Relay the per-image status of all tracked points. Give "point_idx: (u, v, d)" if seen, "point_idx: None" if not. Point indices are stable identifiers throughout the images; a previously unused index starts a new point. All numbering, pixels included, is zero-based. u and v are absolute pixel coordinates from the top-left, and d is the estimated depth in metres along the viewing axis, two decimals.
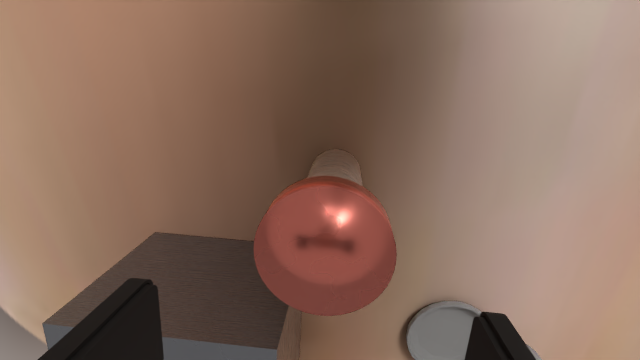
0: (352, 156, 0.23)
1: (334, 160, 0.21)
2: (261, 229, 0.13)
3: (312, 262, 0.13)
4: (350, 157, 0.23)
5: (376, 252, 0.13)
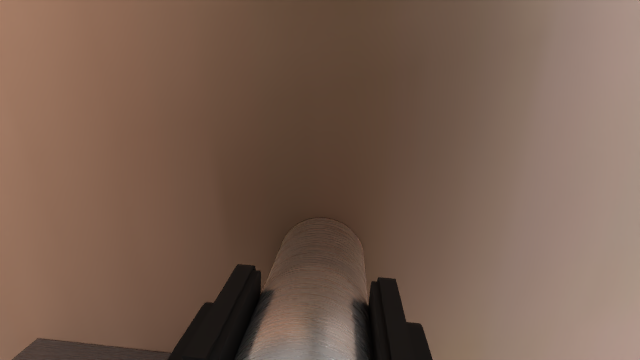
0: (349, 231, 0.14)
1: (315, 256, 0.11)
2: None
3: None
4: (345, 237, 0.13)
5: None
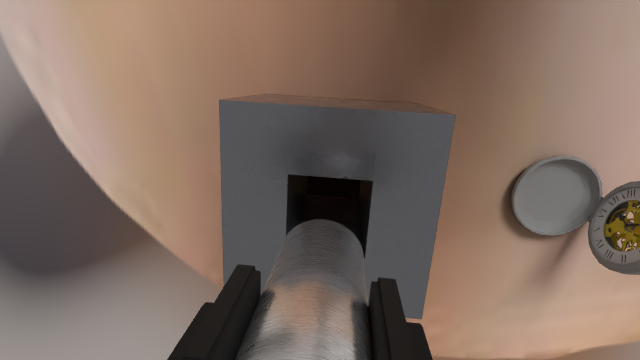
0: (349, 233, 0.14)
1: (315, 259, 0.11)
2: None
3: None
4: (345, 239, 0.13)
5: None
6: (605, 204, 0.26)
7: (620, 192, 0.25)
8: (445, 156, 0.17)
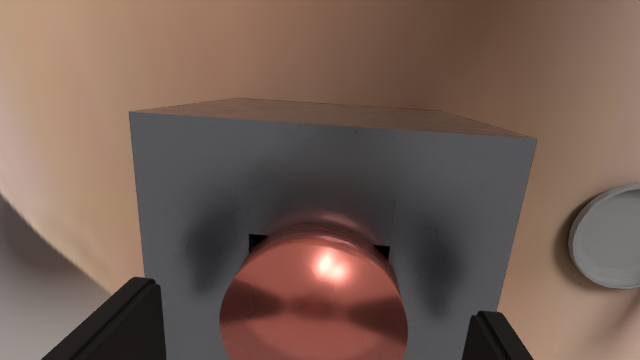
0: None
1: None
2: (229, 298, 0.10)
3: (297, 340, 0.10)
4: None
5: (381, 329, 0.10)
6: None
7: None
8: (515, 208, 0.10)
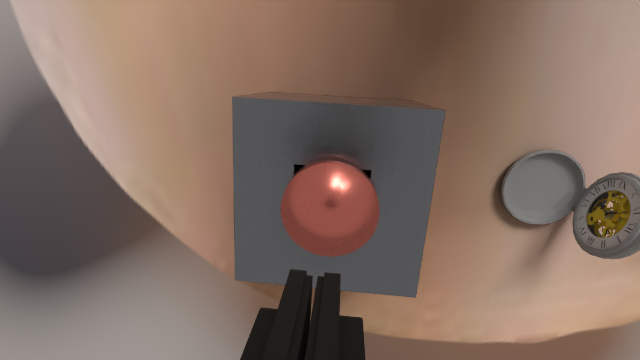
0: None
1: None
2: (286, 193, 0.19)
3: (321, 217, 0.19)
4: None
5: (365, 209, 0.19)
6: (588, 195, 0.28)
7: (601, 183, 0.27)
8: (436, 147, 0.19)
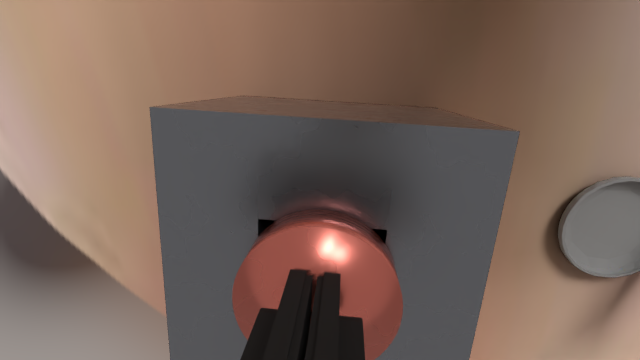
0: None
1: None
2: (241, 275, 0.11)
3: None
4: None
5: (379, 303, 0.11)
6: None
7: None
8: (500, 195, 0.11)
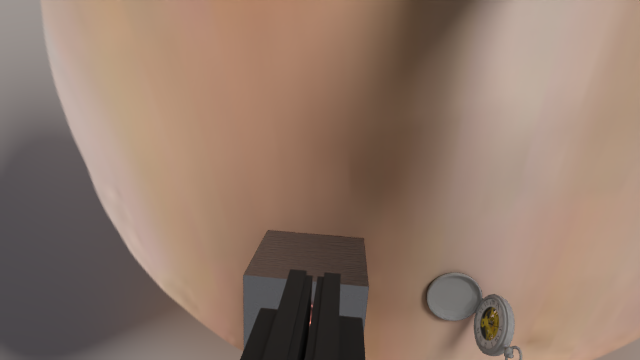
0: None
1: None
2: None
3: None
4: None
5: None
6: (483, 304, 0.41)
7: (489, 299, 0.40)
8: (364, 305, 0.32)
